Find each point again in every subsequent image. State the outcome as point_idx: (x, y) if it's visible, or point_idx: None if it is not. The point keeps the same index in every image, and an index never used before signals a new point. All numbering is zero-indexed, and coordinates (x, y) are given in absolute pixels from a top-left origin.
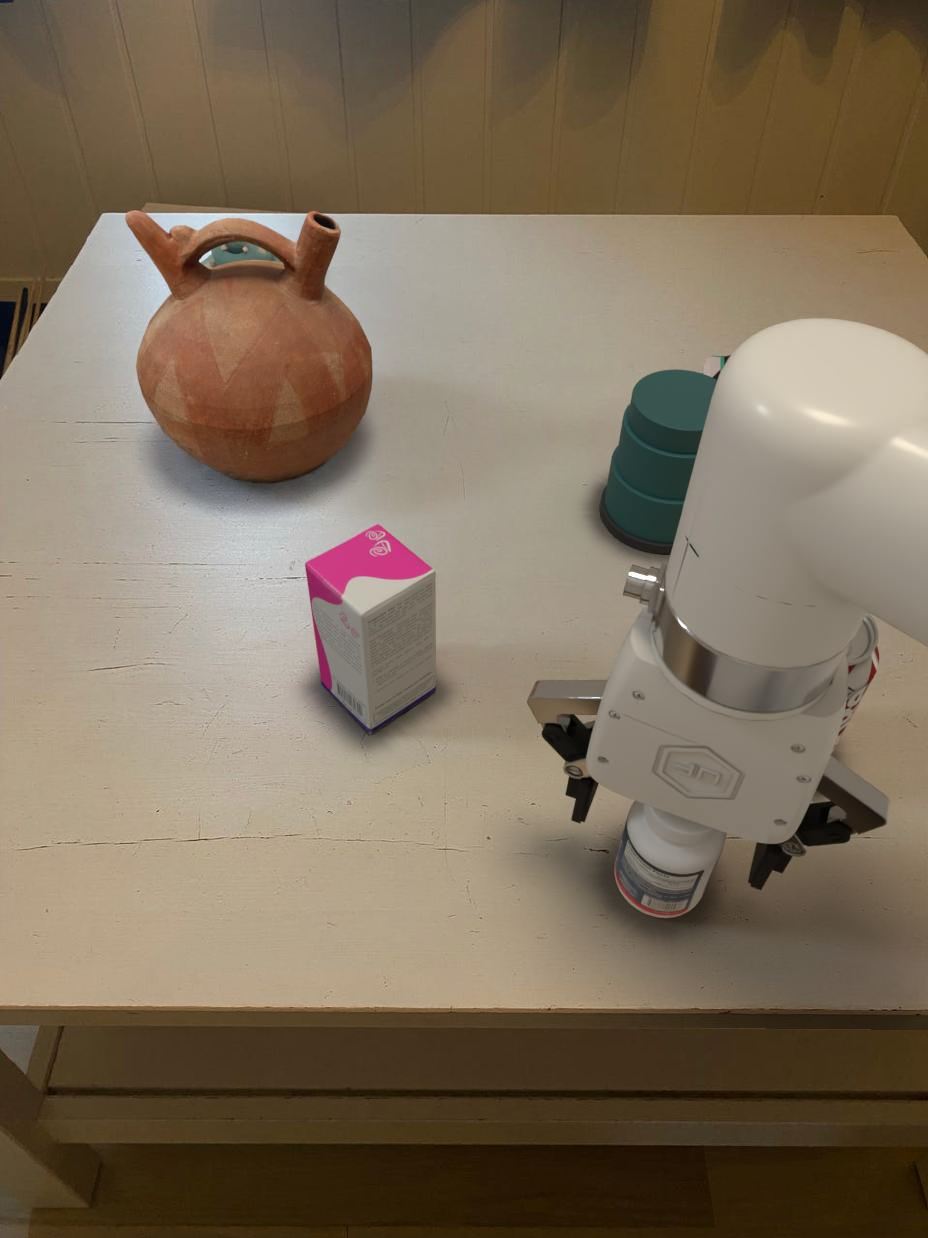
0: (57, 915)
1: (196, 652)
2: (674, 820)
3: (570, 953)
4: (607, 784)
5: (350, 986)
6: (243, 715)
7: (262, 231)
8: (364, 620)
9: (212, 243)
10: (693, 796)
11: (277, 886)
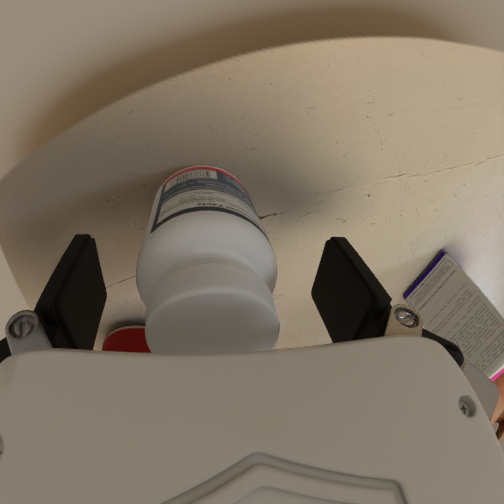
0: None
1: (499, 260)
2: (224, 304)
3: (277, 98)
4: (419, 348)
5: (441, 51)
6: (491, 234)
7: None
8: None
9: (500, 435)
10: (244, 476)
11: (484, 124)
